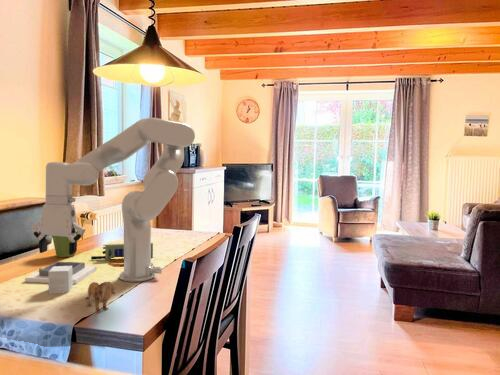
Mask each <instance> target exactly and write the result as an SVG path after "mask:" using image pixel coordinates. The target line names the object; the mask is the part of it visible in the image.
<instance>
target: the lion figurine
mask: <svg viewBox="0 0 500 375" xmlns="http://www.w3.org/2000/svg"><path fill="white" fill-rule="evenodd" d="M87 289H88V290H87V295H88V296H86V297H85V300H87V304H86V307H88V306H89V307H91V306H92V303H91V301H92V298H93V301H94V304H95V305H94V307H95V311H94V314H100V311H101V310H100V303H101V304H102V311H107V310H109V308H108V306H107V303H108V301H109V300H110V299H111V298H112V295H113V296H114V295H116V292H117V290H118V288H117V287H115V286H114V285H112V283H111V281H104V282H101V283H98V282H95V281H93V282H91V283H89V286H88V288H87Z"/></svg>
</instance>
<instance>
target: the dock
mask: <svg viewBox="0 0 500 375" xmlns="http://www.w3.org/2000/svg"><path fill="white" fill-rule="evenodd" d="M85 264H86V263H85V262H82V261H81V262H79V261H78V262H76V261H55V262H53V263H51V264H49V265H47V266H44V267H43V268H39V269H38V270H37V271H35V272H33V273H32V274H30V275H28V276H26V277H24V282H25V283H42V284H43V283H44V284H45V283H46V284H47V283H48V284H49V277H48V272H49V271H50V270H51V268H52V267H54V266H72V275H73V285H77V284H78V283H80V282H81V281H82V280H84V279H86V278H88V277H89V276H90V275H92V274H93V273H95V272H96V271H98V268H97V267H98V266H97V265H85Z"/></svg>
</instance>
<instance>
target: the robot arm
mask: <svg viewBox="0 0 500 375" xmlns="http://www.w3.org/2000/svg"><path fill="white" fill-rule="evenodd" d="M195 138H196V133H195V131H194V129H193V127H192V126H190V125H189V124H186V123H182V122H177V121H173V120H167V119H162V118H158V117H147V118H142V119H140V120H137V121H136V122H134V123H133V124H130V126H129V127H127V128H126V129H124V130H123V131H122V132H120V133H118V134H117V135H115V136H114V137H112V138H111V139H109V140H108V141H106V142H104V143H103V144H101V145H100V146H98V147H96V148H95V149H93V150H91V151H89V152H88V153H86V154H85V155H84V156H82V157H80V158H79V159H78V160H76V161H75V162H73V163H70V162H65V161H64V162H62V161H60V162H59V161H52V162H51V161H49V162H47V164H46V166H45V202H44V204H43V205H42V210H41V216H40V221H39V222H38V223H35V224H33V225H32V226H31V227H30V228H31V230H32V232H33V236H35V237H36V239H37V241H38V249H39V254H42V253H45V252H47V251H48V239H47V237H49V236H51V237H52V236H67V237H68V238H69V240H70V241H71V242H70V243H69V254H70V255H72V254H74V253H75V254H76V252H77V250H78V241H79V240H80V239H82V237H83V235H84V233H85V231H86V228H84V227H83V226H82V225H79V224H78V222H77V213H76V207H75V205H74V204H73V203H75V202H76V197H73V195H72V193H73V190H72V189H73V185H77V186H78V185H79V186H85V187H86V186H92V185H93V184H96V182H97V181H98V180H99V177H100V172H101V171H103V170H104V169H106V168H108V167H110V166H112V165H115V164H118V163H121V162H123V161H125V160H128V159H129V158H131V157H132V156H134V155H135V154H136V153H137V152H138V151H140V150H141V149H143V148H144V147H146V146H147V145H149V144H150V143H157V144H162V146H163V147H162V148H163V149H162V150H163V151H162V153H161V154H160V157H158V159H157V160H156V161H155V163H154V164H153V165H152V167H151V168H150V169H149V170H148V171H147V172H146V174H145V175H144V176H143V178H142V186H143V188H144V189H143V191H140V190H134V191H129V192H128V193H127V194H126V195H124V197H123V198H122V202H121V212H122V213H121V214H122V220H123V244H124V259H123V271H121V272H120V273H119V275H118V276H119V279H120V280H121V281H124V282H130V283H134V282H137V283H140V282H145V281H149V280H152V279H154V277H156V274H162V273H163V268H162V266H154V262H152V258H151V243H152V226H151V225H152V222H151V221H152V220H154V219H156V217H158V216H159V215H160V214H161V212H162V211H163V210H164V209H165V207H166V206H167V205H168V204H169V202H170V200H171V199H172V197H173V196H174V195H175V193H176V192H177V190H178V187H179V178H178V175H177V173H178V172H179V171H180V169H181V167H182V166H183V163H184V161H185V148H187V147H189V146H191V145H192V144H193V143H194V142H195ZM39 229H40V231H39ZM77 230H78V231H79V232H78V234H77V235H76V234H75V233H76V232H77Z"/></svg>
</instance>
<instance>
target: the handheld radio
mask: <svg viewBox="0 0 500 375" xmlns="http://www.w3.org/2000/svg"><path fill="white" fill-rule="evenodd" d="M102 246H103V247H102V249H103V251H102V255H97V256H96V255H95V256H91V257H90V258H91V260H102V259H103V260H105V261H111V260H110V259H111V258H114V257H124V243H115V244H113V243H110V244H103V245H102ZM153 255H154V244H153V242H151V259H153V258H154V256H153Z"/></svg>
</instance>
